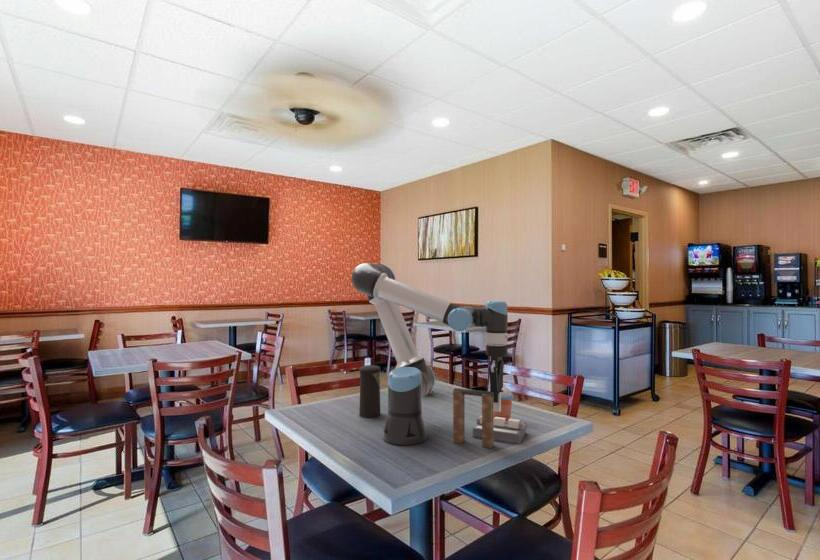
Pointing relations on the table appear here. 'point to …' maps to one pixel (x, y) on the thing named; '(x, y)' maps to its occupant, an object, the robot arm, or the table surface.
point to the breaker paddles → (504, 422)
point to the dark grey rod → (473, 392)
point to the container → (369, 391)
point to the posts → (460, 419)
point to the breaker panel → (503, 432)
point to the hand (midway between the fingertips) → (496, 410)
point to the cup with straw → (505, 404)
